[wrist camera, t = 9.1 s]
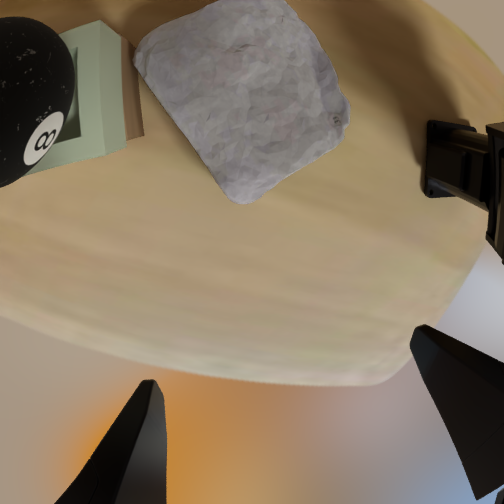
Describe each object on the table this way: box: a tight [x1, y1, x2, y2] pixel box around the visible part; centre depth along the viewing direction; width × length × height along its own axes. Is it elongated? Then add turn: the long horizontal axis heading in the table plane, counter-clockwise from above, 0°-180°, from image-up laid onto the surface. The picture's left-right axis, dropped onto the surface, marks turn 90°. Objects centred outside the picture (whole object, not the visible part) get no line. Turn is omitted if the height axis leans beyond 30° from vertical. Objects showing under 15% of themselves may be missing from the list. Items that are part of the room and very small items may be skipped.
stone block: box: [132, 0, 350, 204], centre depth 15 cm, size 12×5×10 cm
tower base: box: [117, 33, 144, 141], centre depth 13 cm, size 6×6×4 cm
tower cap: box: [22, 20, 127, 177], centre depth 10 cm, size 6×6×3 cm
